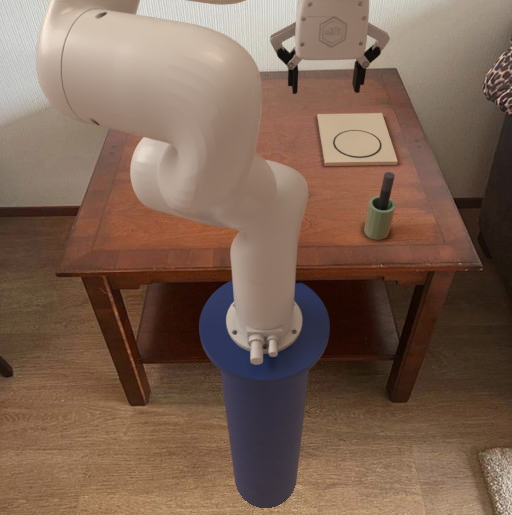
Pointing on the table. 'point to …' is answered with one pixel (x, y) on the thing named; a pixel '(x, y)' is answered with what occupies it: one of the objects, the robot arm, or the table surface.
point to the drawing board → (355, 140)
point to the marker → (385, 191)
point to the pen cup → (378, 219)
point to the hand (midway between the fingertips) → (325, 89)
